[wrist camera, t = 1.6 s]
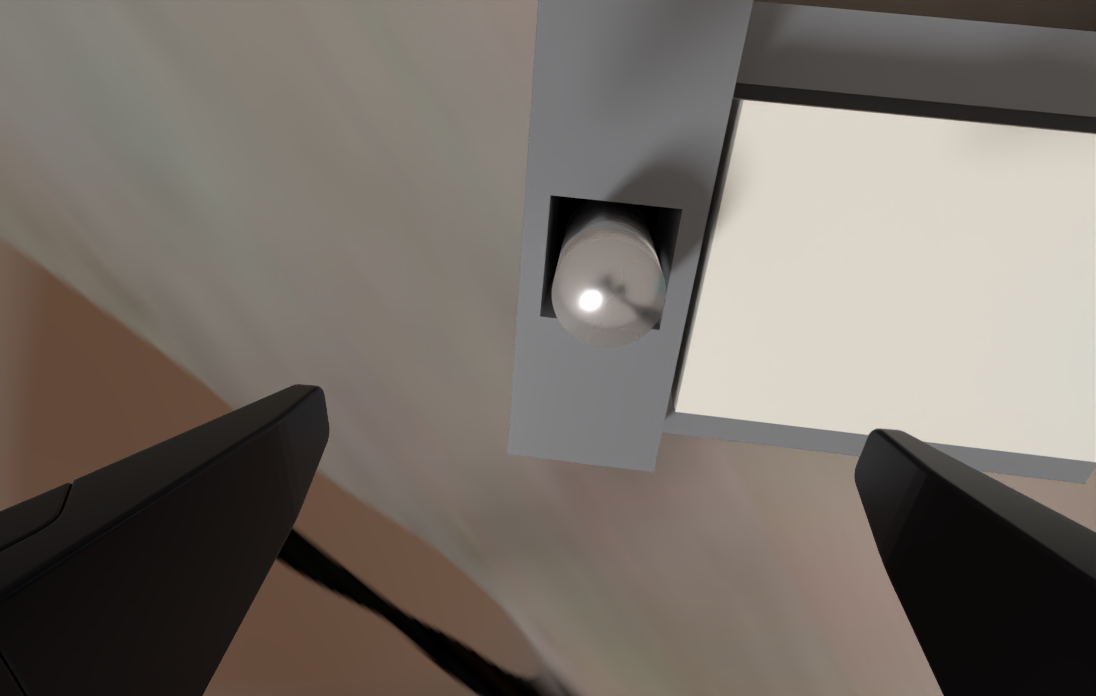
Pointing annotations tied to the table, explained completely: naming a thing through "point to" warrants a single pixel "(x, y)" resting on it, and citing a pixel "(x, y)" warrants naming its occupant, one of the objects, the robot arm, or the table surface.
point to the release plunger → (608, 276)
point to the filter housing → (691, 167)
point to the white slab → (898, 280)
